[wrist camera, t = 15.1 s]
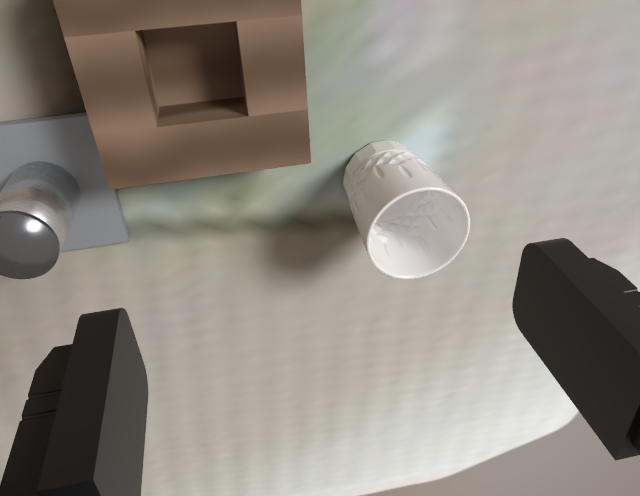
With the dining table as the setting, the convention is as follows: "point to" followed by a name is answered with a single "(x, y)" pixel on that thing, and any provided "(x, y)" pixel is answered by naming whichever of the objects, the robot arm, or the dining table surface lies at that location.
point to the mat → (80, 161)
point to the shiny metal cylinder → (35, 218)
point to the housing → (190, 85)
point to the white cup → (404, 211)
